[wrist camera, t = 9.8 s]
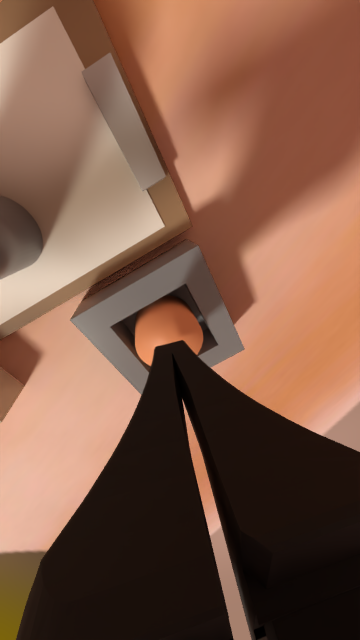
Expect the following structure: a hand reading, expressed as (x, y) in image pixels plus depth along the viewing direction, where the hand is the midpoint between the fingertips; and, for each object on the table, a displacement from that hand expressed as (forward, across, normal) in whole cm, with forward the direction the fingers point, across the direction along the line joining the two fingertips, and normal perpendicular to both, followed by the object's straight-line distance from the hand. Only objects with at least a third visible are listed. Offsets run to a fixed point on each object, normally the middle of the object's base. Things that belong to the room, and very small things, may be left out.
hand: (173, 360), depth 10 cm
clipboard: (+5, +5, -7) cm, 10 cm away
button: (+4, 0, 0) cm, 4 cm away
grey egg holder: (+4, 0, 0) cm, 5 cm away
